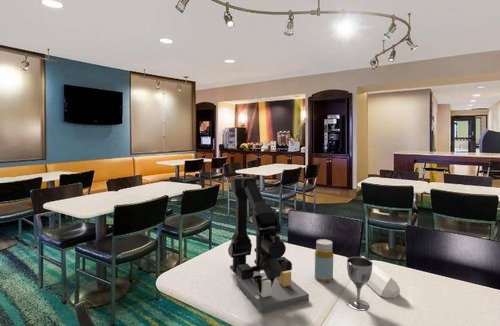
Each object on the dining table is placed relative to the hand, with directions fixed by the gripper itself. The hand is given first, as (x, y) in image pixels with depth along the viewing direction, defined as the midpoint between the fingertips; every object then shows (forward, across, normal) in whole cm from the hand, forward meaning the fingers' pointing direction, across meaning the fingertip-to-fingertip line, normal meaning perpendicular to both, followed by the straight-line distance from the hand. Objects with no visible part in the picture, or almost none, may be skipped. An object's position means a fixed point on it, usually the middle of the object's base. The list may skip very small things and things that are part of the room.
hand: (264, 291), depth 106 cm
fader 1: (+1, 0, 0) cm, 1 cm away
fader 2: (+1, +10, +3) cm, 11 cm away
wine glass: (+4, +28, -14) cm, 32 cm away
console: (+4, +5, +4) cm, 8 cm away
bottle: (+4, +29, +6) cm, 30 cm away
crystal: (+4, +45, -6) cm, 45 cm away
